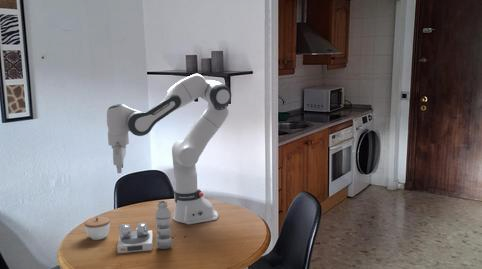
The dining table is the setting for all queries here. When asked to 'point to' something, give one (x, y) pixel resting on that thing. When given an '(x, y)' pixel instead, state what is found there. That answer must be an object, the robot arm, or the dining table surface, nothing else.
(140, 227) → the silver ball
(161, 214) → the plastic bottle
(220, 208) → the dining table surface
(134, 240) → the kitchen scale
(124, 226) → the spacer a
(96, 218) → the lidded jar
